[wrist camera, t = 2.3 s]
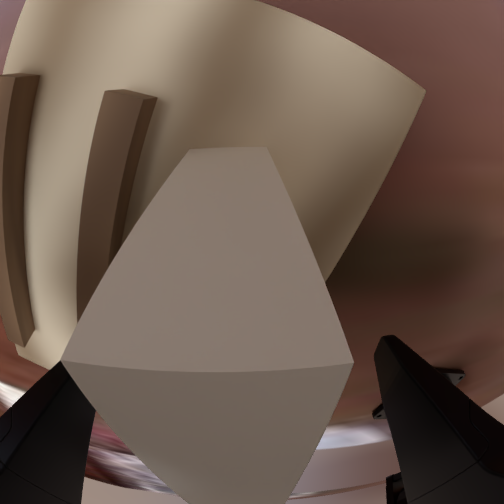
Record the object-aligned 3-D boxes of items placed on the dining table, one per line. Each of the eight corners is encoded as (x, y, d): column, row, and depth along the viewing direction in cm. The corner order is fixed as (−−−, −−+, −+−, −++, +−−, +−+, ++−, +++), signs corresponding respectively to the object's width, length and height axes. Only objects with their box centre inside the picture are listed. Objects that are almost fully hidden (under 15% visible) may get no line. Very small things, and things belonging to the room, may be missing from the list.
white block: (180, 149, 9) (35, 355, 2) (276, 146, 9) (387, 357, 2) (207, 360, 14) (200, 518, 7) (268, 359, 14) (284, 517, 7)
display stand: (412, 88, 9) (452, 94, 7) (226, 409, 18) (226, 440, 16) (48, -17, 5) (13, -29, 3) (24, 344, 15) (10, 371, 13)
